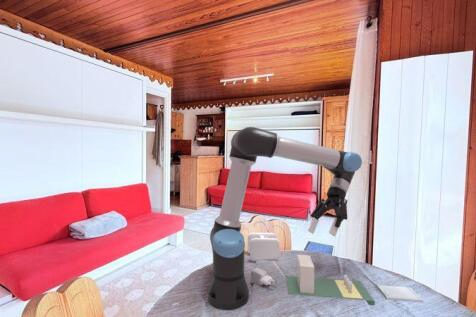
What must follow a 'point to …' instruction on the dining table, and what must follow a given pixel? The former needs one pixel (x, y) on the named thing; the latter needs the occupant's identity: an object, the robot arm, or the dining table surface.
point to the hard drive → (399, 293)
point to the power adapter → (261, 277)
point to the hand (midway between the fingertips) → (320, 233)
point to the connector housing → (305, 274)
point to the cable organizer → (263, 246)
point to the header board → (332, 289)
